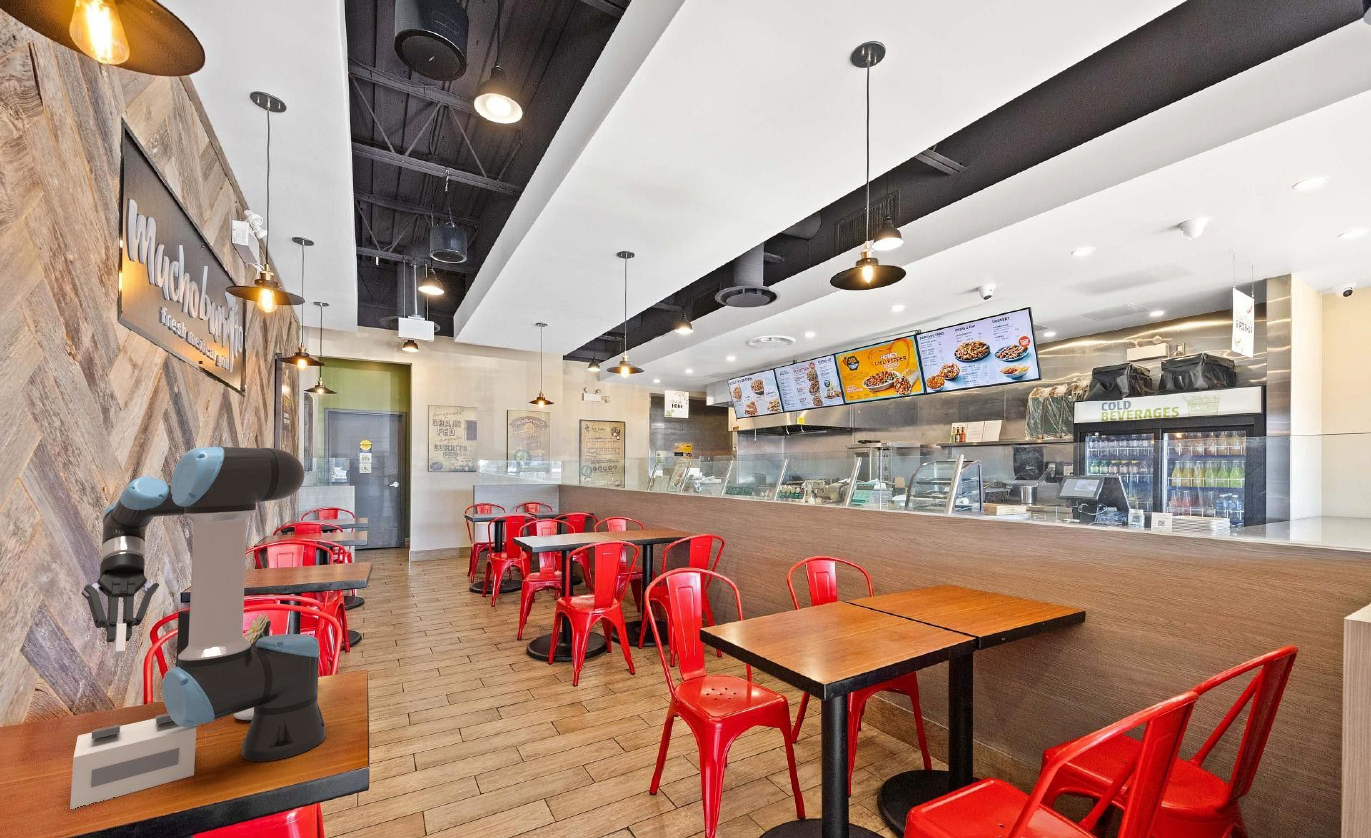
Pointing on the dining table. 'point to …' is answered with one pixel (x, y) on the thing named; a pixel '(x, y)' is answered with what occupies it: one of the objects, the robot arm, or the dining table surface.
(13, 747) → the dining table surface
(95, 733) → the rocker outer
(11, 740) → the dining table surface
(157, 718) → the block
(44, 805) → the dining table surface
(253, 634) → the flower in vase
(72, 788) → the switch box
